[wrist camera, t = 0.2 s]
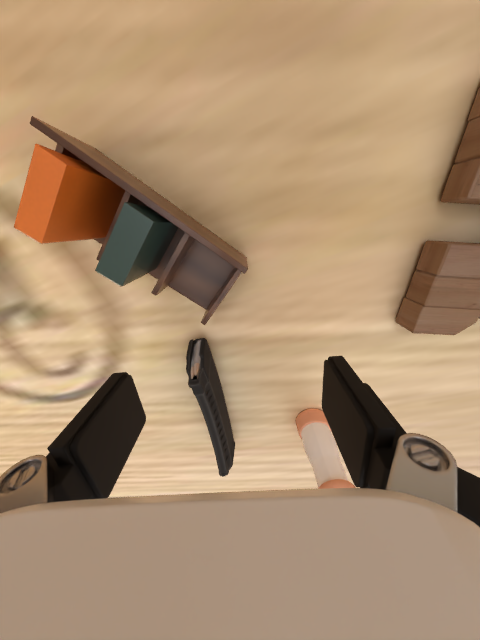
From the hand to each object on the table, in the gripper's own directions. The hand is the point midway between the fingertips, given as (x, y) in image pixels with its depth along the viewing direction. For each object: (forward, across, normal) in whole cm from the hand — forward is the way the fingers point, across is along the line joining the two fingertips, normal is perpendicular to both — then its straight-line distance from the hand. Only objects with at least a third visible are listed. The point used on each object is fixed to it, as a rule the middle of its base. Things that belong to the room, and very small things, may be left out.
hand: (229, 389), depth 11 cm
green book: (+30, +13, -6) cm, 33 cm away
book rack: (+31, +13, -6) cm, 34 cm away
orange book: (+30, +19, -12) cm, 38 cm away
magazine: (+31, +8, +27) cm, 42 cm away
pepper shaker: (+31, -14, +37) cm, 50 cm away
